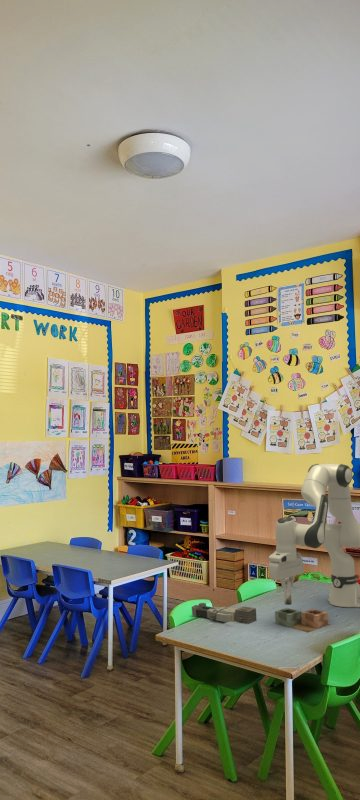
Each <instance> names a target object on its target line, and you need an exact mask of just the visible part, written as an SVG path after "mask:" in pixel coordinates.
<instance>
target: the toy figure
mask: <svg viewBox="0 0 360 800" xmlns="http://www.w3.org/2000/svg"><path fill="white" fill-rule="evenodd" d="M191 615H192V618H198V617H203V618H207V619H210V620H212V621H220V622H223V623H228V622H237V623H242V624H247V625H250V624H252V623H253V622H256V621H257V608H255V607H251V606H250V607H249V606H240V607H237V608H236V607H229V606H220V607H217V606H214V607H212V606H208V605H207V603H206V602H200V603H199V602H198V604H194V605H193V606H191Z"/></svg>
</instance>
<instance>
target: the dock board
mask: <svg viewBox="0 0 360 800" xmlns="http://www.w3.org/2000/svg"><path fill="white" fill-rule="evenodd" d="M274 613H275V614H274V615H275V616H274V617H275V618H274V619H275V621H274V624H275V625H278V626H283V627H287V628H290V629H293V630H297V631H301V632H304V633H311V632H313V631H316V630H319V629H321V628H323V627H326V626H329V625H331V624H329V612H328V611H324V610H319V609H316V608H311V609H308V610H304V611H301V610H297V609H293V608H288V607H285V608H281V609H278V610H275V611H274Z"/></svg>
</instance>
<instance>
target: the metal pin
mask: <svg viewBox="0 0 360 800" xmlns="http://www.w3.org/2000/svg"><path fill="white" fill-rule="evenodd" d="M285 583H286V584H287V588H283V591H284V596H283V597H284V604H285V605H287V606H290V605H292V603H293V601H292V586H291V580H289V579H285Z"/></svg>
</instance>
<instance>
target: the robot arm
mask: <svg viewBox="0 0 360 800" xmlns="http://www.w3.org/2000/svg"><path fill="white" fill-rule="evenodd" d="M352 479H353V472H352V469H351V468H350V466H349V465H346V464H343V463H341V464H340V463H315V464H312V465H311V466H310V467H309V468H308V470H307V473H306V476H305V478H304V480H303V482H302V486H301V488H300V489H301V490H300V493H301V497H302V498H303V500H304V501H305V502H306V503H307V504H309V505H310V506H313V507H315V512H314V519H313V522H312V523H310V524H307V523H299V522H296V521H295V520H294V518H293V517H288V516H286V517H285V516H284V517H280V518H278V519H276V523H275V524H276V525H275V541H276V545H275V551H274V552H273V553H272V554H270V555H269V556H268V561H269V563H268V575H269V576H268V577H269V578H270V580H271V581H272V580H273V581H279V582H280V584H281V589H284V588H287V584H286V583H285V580H286V579H287V578H289V579H288V580H291V587H294V581H295V577H296V576H298V575H302V574H303V573H304V569H305V567H304V562H303V558H302V554H301V553H300V552H297V546H301V547H302V546H303V547H307V548H312V549H318V548H319V547H321V546H323V548H324V549H326V551H327V553H328V555H329V558H330V565H331V566H330V567H331V575H330V579H331V584H330V585H329V597H327V602H328V603H329V604H330V605H332V606H336V607H342V608H360V584H359V582H358V580H359V579H360V574H356V572H355V571H356V570H355V560H354V558H353V557H352V556H351V555H350V554H348V553H346V552H345V551H344V550H343V548H360V523H359V521H358V520H357V518H356V517H355V515H354V512H353V507H352V496H351V495H352V494H351V488H350V484H351V482H352ZM326 492H327V495H326ZM328 512H329V514H330V515H331V516H333V517H334V518H336V519H338V520H339V522H340V523H327V517H328Z"/></svg>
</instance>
